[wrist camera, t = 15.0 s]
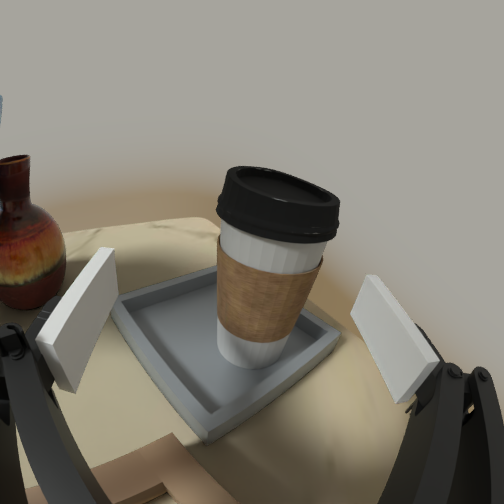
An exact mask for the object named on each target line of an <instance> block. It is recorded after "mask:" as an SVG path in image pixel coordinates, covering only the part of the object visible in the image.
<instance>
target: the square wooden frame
mask: <svg viewBox="0 0 504 504" xmlns="http://www.w3.org/2000/svg"><path fill="white" fill-rule="evenodd" d="M90 470H91V471H92V473H93V475H94V476H95V478H96V480H97V481H98V483H99V485H100V486H101V488H102V489H103V491H104V492H105V494H106V495H107V497H108V498H109V500H110V501H111V502H112V504H144V503H146V502H148V501H150V500H152V499H154V498H156V497H158V496H160V495H162V494H164V493H166V492H168V493H169V494H170V496H171V497H172V498H173V499H174V500H175V501H176V502H177V503H178V504H240V503H239V502H238V501H237V500H235V499H234V498H233V497H232V496H231V495H230V494H229V493H228V492H227V491H226V490H225V489H224V488H223V487H222V486H220V485H219V484H218V483H217V482H216V481H215V480H214V479H213V478H212V477H211V476H210V475H209V473H208V472H207V471H206V470H205V469H204V468H203V467H202V466H201V465H200V464H199V463H198V462H197V461H196V460H195V459H194V457H193V456H192V455H191V454H190V453H189V452H188V451H187V450H186V448H185V447H184V446H183V445H182V444H181V443H180V441H179V440H178V439H177V438H176V437H175V435H174V434H173V433H170V434H168V435H166V436H164V437H162V438H160V439H158V440H156V441H154V442H152V443H150V444H148V445H146V446H144V447H142V448H139V449H137V450H135V451H133V452H131V453H128V454H126V455H124V456H122V457H119V458H117V459H115V460H112V461H110V462H107V463H105V464H102V465H100V466H97V467H95V468H92V469H90ZM25 492H26V496H27V500H28V504H48V502H47V500H46V499H45V497H44V495H43V493H42V491H41V488H40V486H35V487H31V488H27V489H25Z"/></svg>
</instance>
